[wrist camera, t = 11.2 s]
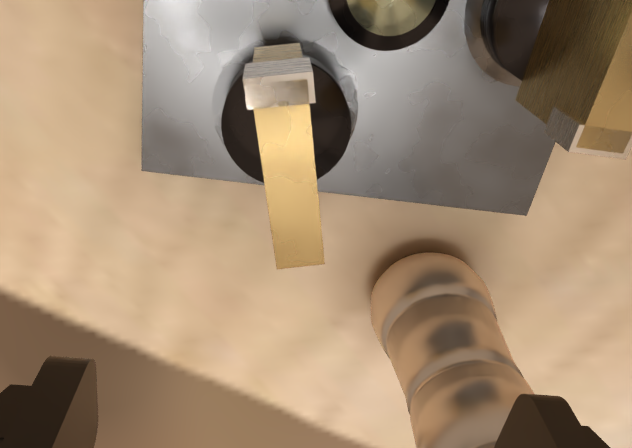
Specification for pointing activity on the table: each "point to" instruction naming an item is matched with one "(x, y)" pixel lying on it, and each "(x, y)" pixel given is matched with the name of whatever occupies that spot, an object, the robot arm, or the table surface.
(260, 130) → the knob
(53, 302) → the table surface
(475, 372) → the plastic bottle
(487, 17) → the knob
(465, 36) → the plate
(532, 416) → the robot arm
